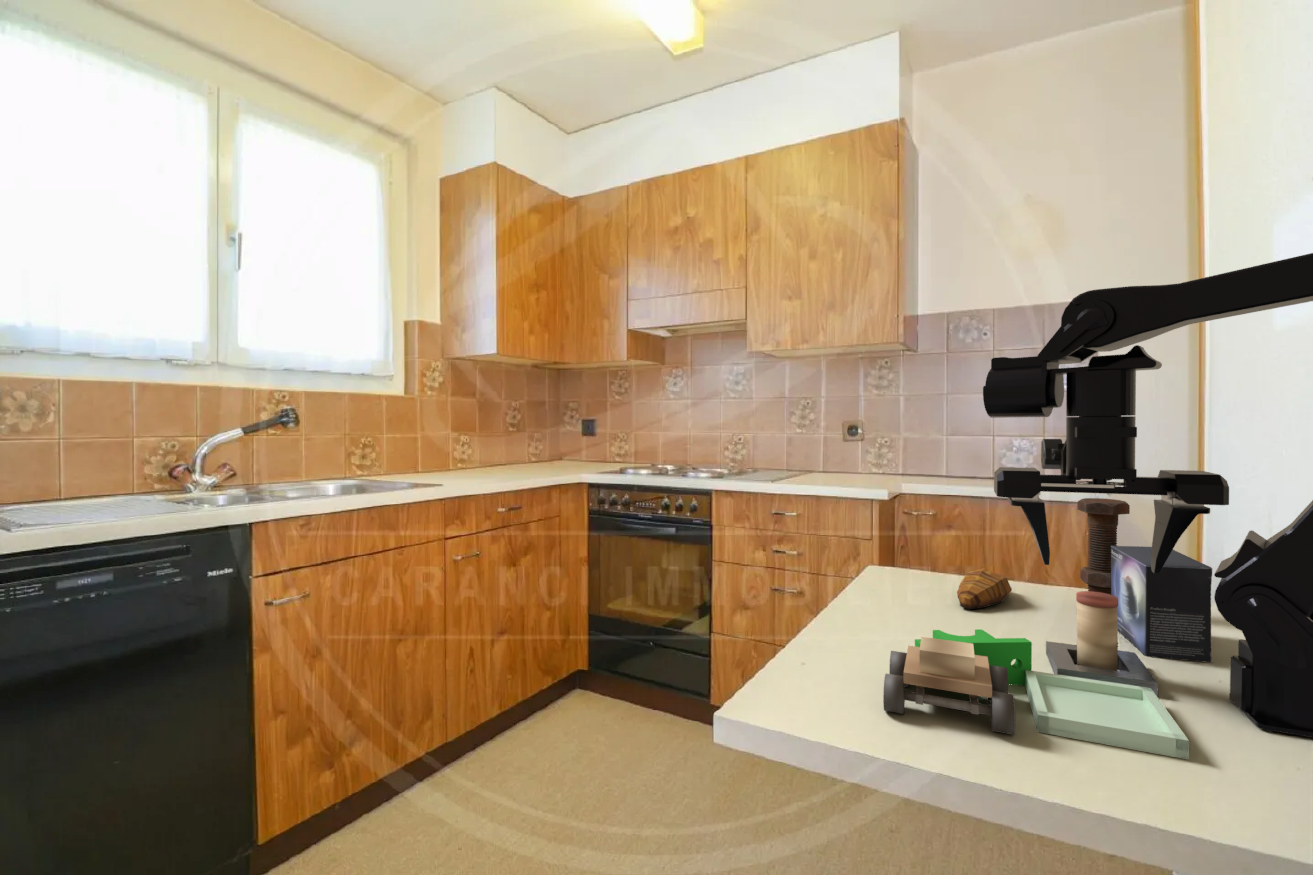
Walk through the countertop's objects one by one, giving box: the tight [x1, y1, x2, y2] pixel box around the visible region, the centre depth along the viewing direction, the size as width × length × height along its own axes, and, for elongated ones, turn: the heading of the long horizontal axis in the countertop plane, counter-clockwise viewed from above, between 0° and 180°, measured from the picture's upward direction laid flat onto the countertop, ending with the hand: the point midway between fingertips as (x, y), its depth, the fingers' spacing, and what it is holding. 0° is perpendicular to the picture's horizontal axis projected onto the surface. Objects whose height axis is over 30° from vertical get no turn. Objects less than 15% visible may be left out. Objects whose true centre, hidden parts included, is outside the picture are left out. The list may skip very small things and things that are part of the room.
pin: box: [1075, 590, 1119, 671], centre depth 63 cm, size 4×4×8 cm
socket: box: [1045, 641, 1159, 697], centre depth 63 cm, size 8×8×1 cm
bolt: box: [1076, 497, 1131, 595], centre depth 83 cm, size 6×5×15 cm
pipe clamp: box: [914, 628, 1033, 686], centre depth 62 cm, size 11×4×5 cm, turn 90°
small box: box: [1111, 545, 1213, 663], centre depth 71 cm, size 11×6×10 cm, turn 161°
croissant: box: [956, 567, 1013, 610], centre depth 87 cm, size 14×7×5 cm, turn 131°
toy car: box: [882, 636, 1016, 736], centre depth 56 cm, size 10×9×6 cm
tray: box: [1024, 670, 1190, 760], centre depth 54 cm, size 10×10×2 cm
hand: (1099, 568), depth 62 cm, fingers open, 9 cm apart
